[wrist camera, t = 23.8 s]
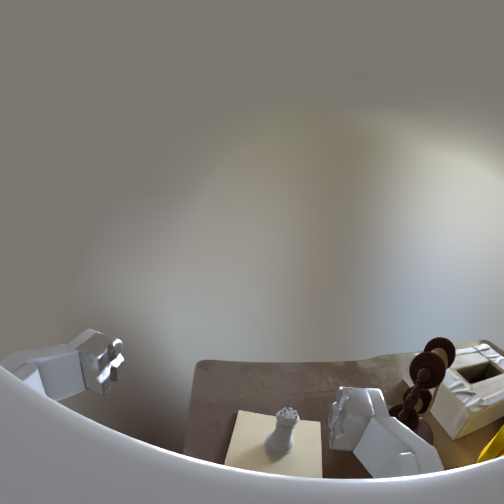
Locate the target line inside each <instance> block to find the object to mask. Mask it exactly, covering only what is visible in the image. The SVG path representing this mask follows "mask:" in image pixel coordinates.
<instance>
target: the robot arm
mask: <svg viewBox="0 0 504 504" xmlns="http://www.w3.org/2000/svg"><path fill="white" fill-rule="evenodd" d="M122 350H123V344H122V341H120V340H119V339H116V338H114V337H111V336H108V335H106V334H103V333H100V332H98V331H95V330H92V329H87V330H85V331H84V332H82V333H81V334H80V335H79V336H77V337H76V338H74V339H73V340H72V341H71V342H69V343H68V344H66V345H64V344H60V345H54V346H48V347H42V348H37V349H30V350H24V351H17V352H14V353H12V354H11V355H10V356H8V357H7V358H5V359H4V360H3V361H1V362H0V504H504V456H502V457H499V458H496V459H492V460H489V461H485V462H481V463H478V464H474V465H469V466H465V467H461V468H456V469H451V470H446V471H445V470H444V467H443V465H442V462H441V460H440V457H439V455H438V452H437V450H436V449H435V448H434V447H433V446H431V445H430V444H429V443H427V442H426V441H425V440H423V439H422V438H421V437H419V436H418V435H417V434H415V433H414V432H413V431H411V430H410V429H409V428H407V427H406V426H405V425H403V424H402V423H401V422H400V421H398V420H397V419H396V418H394V417H390V415H389V412H388V410H387V407H386V404H385V401H384V398H383V395H382V393H381V390H380V389H374V388H366V389H363V388H350V387H340V388H339V389H338V391H337V394H336V400H337V401H336V402H335V403H333V404H332V406H331V409H330V412H329V417H328V428H329V429H330V430H331V434H330V436H329V441H330V450H340V451H353V453H354V455H355V456H356V457H357V458H358V460H359V461H360V462H361V463H362V464H363V466H364V467H365V468H366V469H367V471H368V472H369V473H370V474H371V475H372V477H373V478H374V479H324V478H307V477H295V476H285V475H277V474H270V473H263V472H256V471H250V470H245V469H239V468H234V467H229V466H225V465H220V464H216V463H212V462H208V461H204V460H200V459H196V458H192V457H189V456H185V455H182V454H178V453H175V452H171V451H168V450H165V449H162V448H159V447H156V446H153V445H151V444H148V443H145V442H142V441H140V440H137V439H134V438H132V437H129V436H127V435H124V434H122V433H119V432H117V431H115V430H112V429H110V428H108V427H105V426H103V425H101V424H99V423H97V422H94V421H92V420H90V419H88V418H86V417H84V416H82V415H80V414H78V413H76V412H74V411H72V410H70V409H69V408H67V407H65V406H63V405H61V404H59V403H58V402H56V401H59V400H62V399H64V398H67V397H69V396H72V395H74V394H77V393H79V392H82V391H84V390H86V389H87V390H89V391H92V392H94V393H97V394H99V395H102V396H104V395H105V394H106V393H107V392H108V391H109V390H110V389H111V388H112V382H114V381H117V380H118V379H119V378H120V377H121V376H122V373H123V371H124V358H123V357H122V355H121V354H120V353H121V351H122Z"/></svg>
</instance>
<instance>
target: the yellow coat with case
mask: <svg viewBox="0 0 504 504" xmlns="http://www.w3.org/2000/svg"><path fill="white" fill-rule="evenodd" d="M502 456H504V425H503V426H502V427H501V429H500V430H499V431H498V433H497V434H496V435H495V437H494V438H493V439H492V440H491V441H490V442H489V443H488V445H487V446H486V447H485V448H484V449H483V450H482V452H481V454H480V455H479V457H478V460H477V462H476V464H478V463H481V462H485V461H489V460H492V459H496V458H499V457H502Z"/></svg>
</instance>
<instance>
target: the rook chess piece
mask: <svg viewBox="0 0 504 504" xmlns="http://www.w3.org/2000/svg"><path fill="white" fill-rule="evenodd" d="M292 409H293V408H291V407H289V409H287V408H286V407H285V408H283V409H282V410H281V411H279V412H278V413H277V415H276V419H277V421H276V423H275V424H276V428H275V430H274V431H273V432H272V433H270V434H269V435H268V436H267V437H266V440H265V442H264V448H265V449H266V450H267V452H268V453H270V454H272V455H274V456H285V455H287V454H289V453H290V452H291V451H292V449H293V445H294V441H293V438H292V430H293V429H294V428H295V425H296V424H297V423H298V422H299V416H298V414H297V411H296V410H294V411H292Z"/></svg>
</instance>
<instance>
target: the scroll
mask: <svg viewBox="0 0 504 504" xmlns="http://www.w3.org/2000/svg"><path fill="white" fill-rule="evenodd" d="M455 357H456V351H455V347H454V345H453V344H452V342H451V341H449V340H448V339H446V338H442V337H437V338H434V339H432V340H431V341H429V342H428V343H427V345H426V346H425V349H424V352H422V353H420V354H418V355H417V356H415V357H414V359H413V360H412V361H411V364H410V367H409V374H410V378H411V380H412V381H413V384H414V386H412V387H410V388H408V389H407V390H406V392H405V393H404V396H403V403H399V404H396V405H393V406H386V407H387V410H388V412H389V415H390V417H394V418H396V419H397V420H398V421H400V422H401V423H402V424H403V425H405V426H406V427H407V428H409V429H410V430H411V431H413V432H414V433H415V434H417V435H418V436H419V437H421V438H422V439H423V440H425V441H426V442H427V443H429V444H430V445H431V446H433V440H434V439H433V433H432V430H431V428H430V427H429V425H428V424H427V423H426V421H425V420H424V419H425V417H426V416H427V414H428V412H429V411H430V409H431V408H432V406H433V403H434V401H435V398H436V395H437V392H438V389H439V387H440V384H441V382H442V381H443V379H444V377H445V374H446V370H447V369H448V368H449V367H450V366H451V365H452V364H453V362H454V360H455ZM432 388H435V390H434V394H433V397H432V394H431V392H430V391H429V389H432ZM425 412H426V413H425ZM422 413H425V415H424V416H423V417H420V416H419V415H418V414H422Z"/></svg>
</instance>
